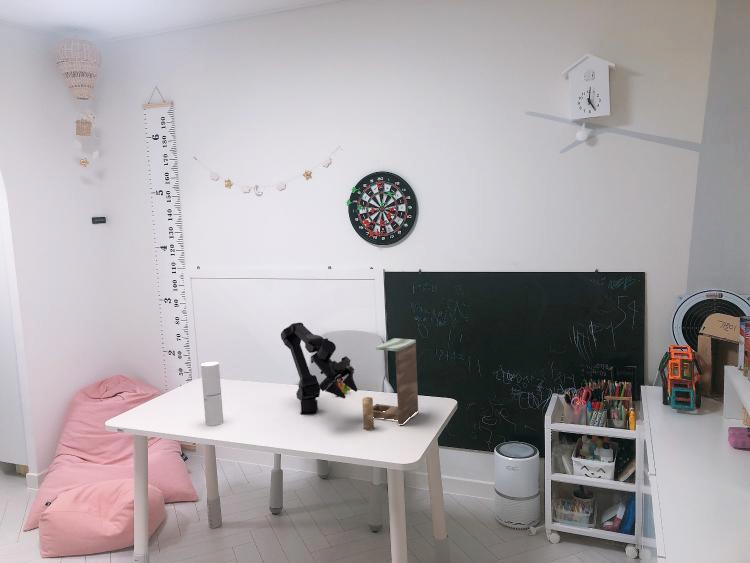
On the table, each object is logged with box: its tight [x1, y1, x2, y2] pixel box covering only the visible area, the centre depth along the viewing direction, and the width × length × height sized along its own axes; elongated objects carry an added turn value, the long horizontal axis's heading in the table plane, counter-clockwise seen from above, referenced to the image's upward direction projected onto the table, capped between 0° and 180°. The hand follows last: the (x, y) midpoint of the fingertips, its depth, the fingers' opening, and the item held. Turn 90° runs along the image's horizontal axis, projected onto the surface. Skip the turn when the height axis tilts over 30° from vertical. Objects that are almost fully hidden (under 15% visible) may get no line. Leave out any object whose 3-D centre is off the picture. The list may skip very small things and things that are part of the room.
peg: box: [361, 396, 375, 431], centre depth 234 cm, size 4×4×12 cm
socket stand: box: [373, 337, 419, 424], centre depth 245 cm, size 18×16×31 cm
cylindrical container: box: [200, 361, 224, 427], centre depth 247 cm, size 7×7×25 cm
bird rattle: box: [337, 379, 351, 394], centre depth 278 cm, size 6×11×9 cm
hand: (351, 394), depth 237 cm, fingers open, 9 cm apart
